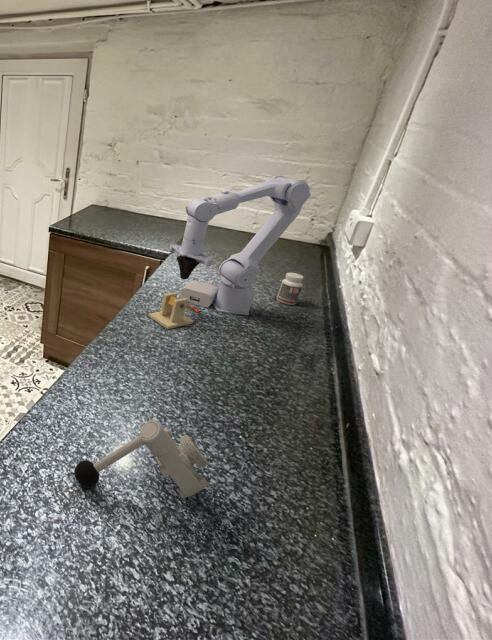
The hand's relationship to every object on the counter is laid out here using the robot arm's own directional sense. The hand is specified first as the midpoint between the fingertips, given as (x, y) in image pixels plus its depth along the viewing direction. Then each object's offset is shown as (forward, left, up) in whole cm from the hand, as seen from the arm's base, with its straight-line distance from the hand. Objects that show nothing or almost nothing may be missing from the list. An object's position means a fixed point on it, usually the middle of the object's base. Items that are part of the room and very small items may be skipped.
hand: (184, 278), depth 127 cm
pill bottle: (-38, -15, -11) cm, 42 cm away
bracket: (+4, +10, -10) cm, 15 cm away
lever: (+1, +8, -7) cm, 11 cm away
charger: (-10, -10, -11) cm, 18 cm away
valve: (+21, +72, -11) cm, 76 cm away
